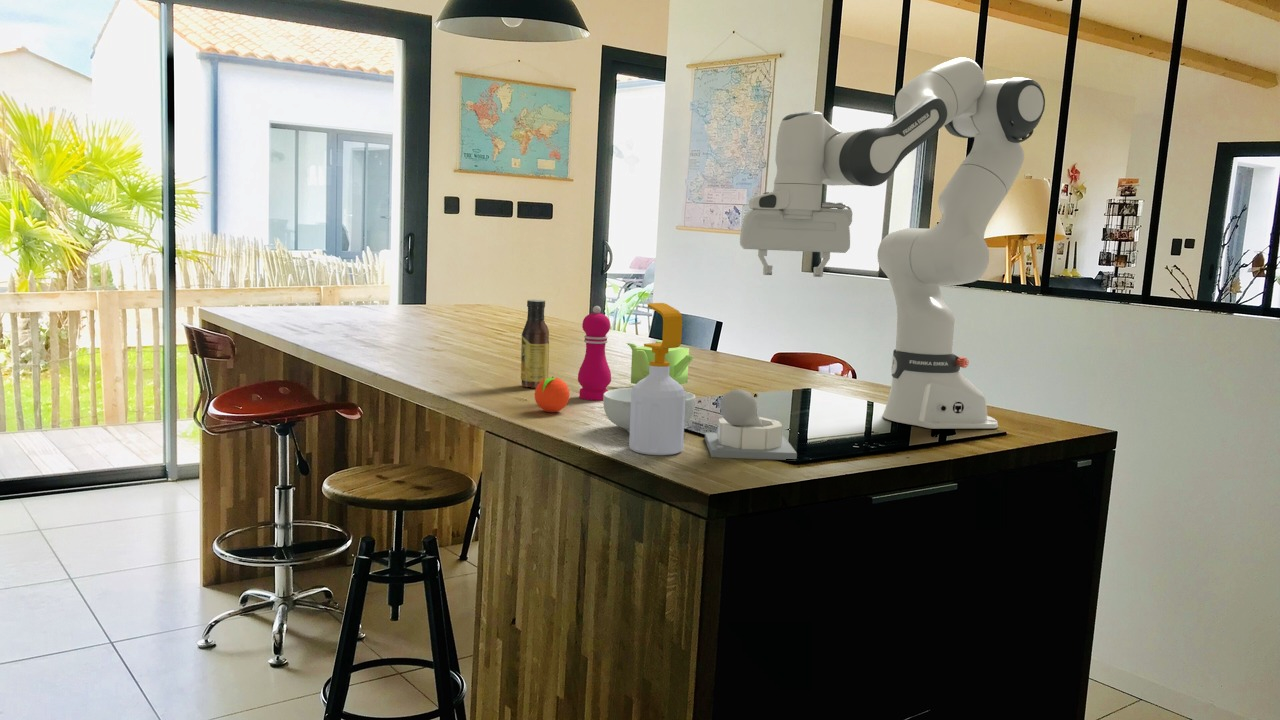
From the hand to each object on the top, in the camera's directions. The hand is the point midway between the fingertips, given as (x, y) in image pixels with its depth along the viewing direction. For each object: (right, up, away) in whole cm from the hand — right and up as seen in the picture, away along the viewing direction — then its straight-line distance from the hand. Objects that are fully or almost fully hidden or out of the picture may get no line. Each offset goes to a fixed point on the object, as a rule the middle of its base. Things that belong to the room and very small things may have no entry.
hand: (792, 275), depth 182 cm
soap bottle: (-26, -31, -18) cm, 44 cm away
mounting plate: (-10, -31, -15) cm, 36 cm away
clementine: (-46, -26, +11) cm, 54 cm away
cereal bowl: (-27, -29, -4) cm, 40 cm away
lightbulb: (-7, -29, -15) cm, 34 cm away
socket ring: (-10, -30, -15) cm, 35 cm away
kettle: (-25, -23, +45) cm, 56 cm away
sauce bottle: (-53, -22, +41) cm, 70 cm away
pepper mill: (-38, -24, +29) cm, 54 cm away
